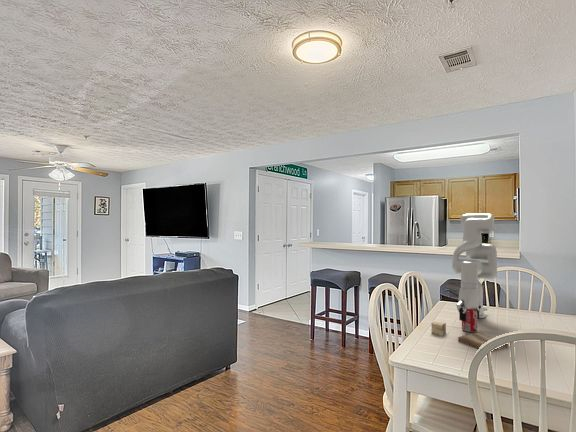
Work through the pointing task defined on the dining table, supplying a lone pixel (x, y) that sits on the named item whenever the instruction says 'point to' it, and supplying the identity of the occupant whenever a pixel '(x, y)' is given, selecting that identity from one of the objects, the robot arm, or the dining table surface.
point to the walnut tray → (476, 340)
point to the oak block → (438, 327)
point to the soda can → (470, 320)
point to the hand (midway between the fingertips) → (469, 319)
